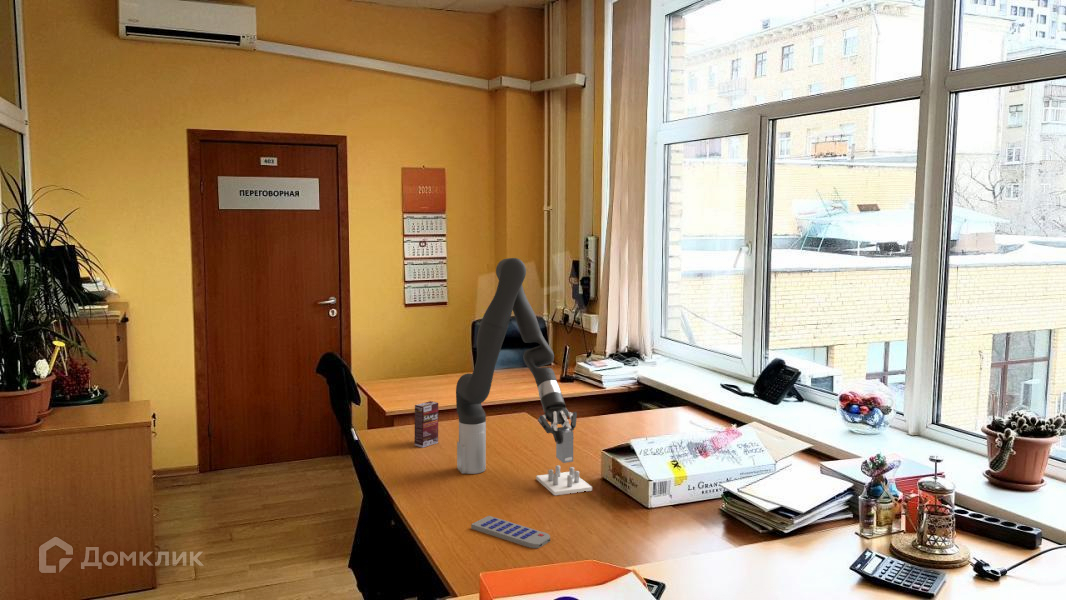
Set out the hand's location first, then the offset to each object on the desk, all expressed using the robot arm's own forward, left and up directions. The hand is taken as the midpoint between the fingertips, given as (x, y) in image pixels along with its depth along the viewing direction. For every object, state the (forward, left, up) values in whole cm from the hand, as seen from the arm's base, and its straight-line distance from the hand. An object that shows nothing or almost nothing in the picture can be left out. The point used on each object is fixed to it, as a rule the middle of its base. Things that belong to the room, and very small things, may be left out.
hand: (565, 441), depth 252 cm
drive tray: (0, 0, -14) cm, 15 cm away
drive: (0, 0, -6) cm, 6 cm away
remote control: (-30, -30, -15) cm, 45 cm away
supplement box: (-32, +58, -15) cm, 68 cm away
